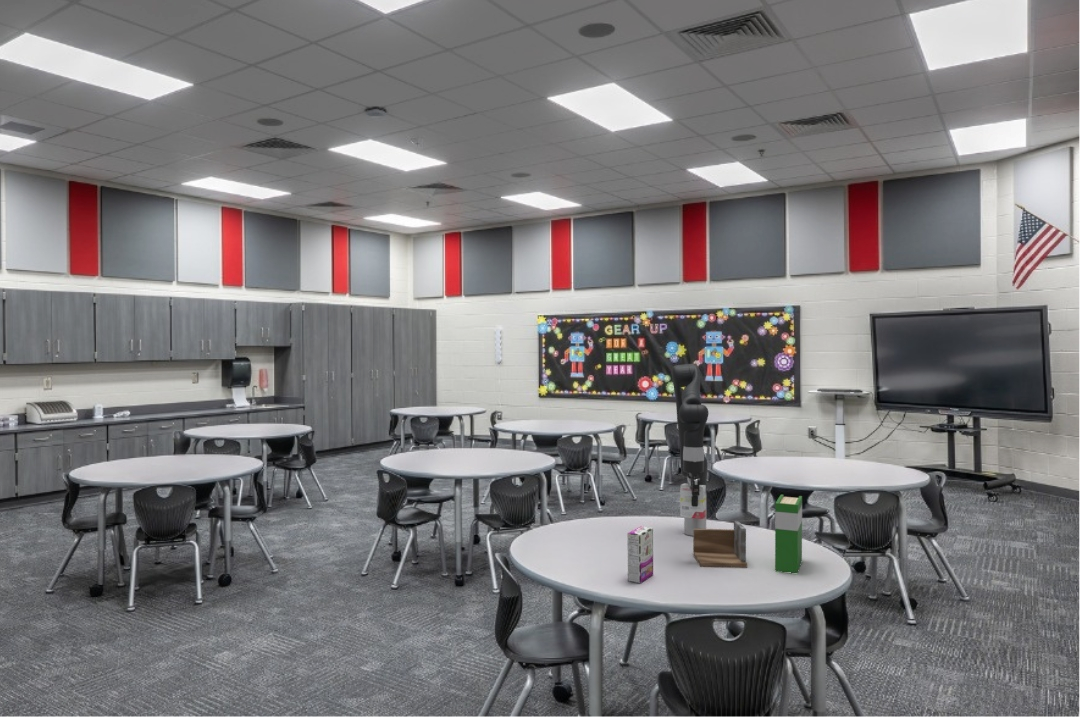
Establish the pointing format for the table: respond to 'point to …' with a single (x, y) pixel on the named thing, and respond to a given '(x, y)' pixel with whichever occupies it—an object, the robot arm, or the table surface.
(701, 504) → the ink box
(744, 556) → the wooden book holder
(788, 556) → the hardback book
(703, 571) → the table surface
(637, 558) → the candy bar box
